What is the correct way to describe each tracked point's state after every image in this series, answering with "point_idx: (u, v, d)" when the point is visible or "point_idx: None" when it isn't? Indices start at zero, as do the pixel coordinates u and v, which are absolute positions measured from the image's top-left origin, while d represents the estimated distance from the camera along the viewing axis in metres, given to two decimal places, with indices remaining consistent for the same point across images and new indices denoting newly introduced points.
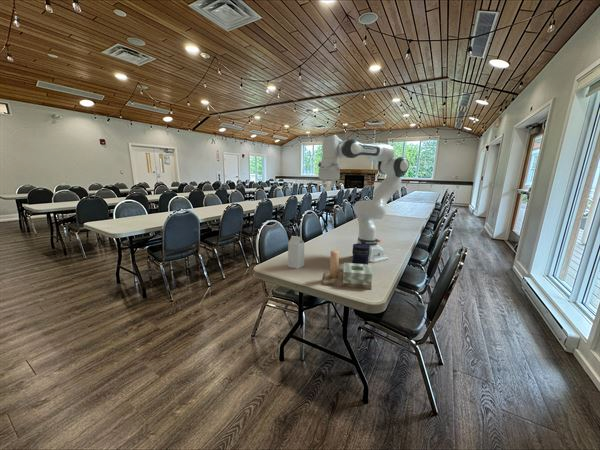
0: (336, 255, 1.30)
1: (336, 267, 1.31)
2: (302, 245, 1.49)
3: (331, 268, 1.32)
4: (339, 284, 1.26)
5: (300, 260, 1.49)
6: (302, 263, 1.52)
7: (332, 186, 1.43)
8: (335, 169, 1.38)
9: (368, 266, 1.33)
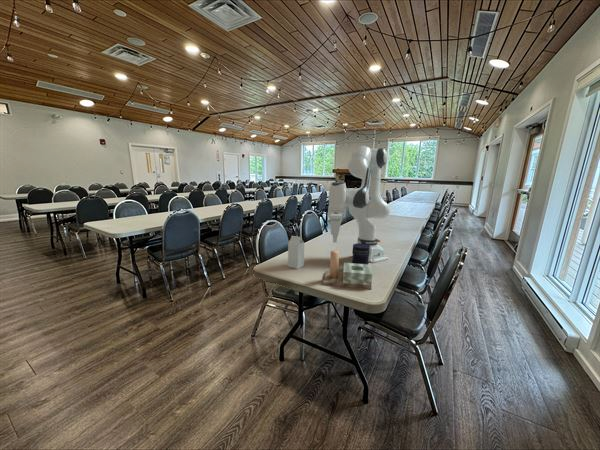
0: (336, 255, 1.30)
1: (336, 267, 1.31)
2: (302, 245, 1.49)
3: (331, 268, 1.32)
4: (339, 284, 1.26)
5: (300, 260, 1.49)
6: (302, 263, 1.52)
7: None
8: None
9: (368, 266, 1.33)
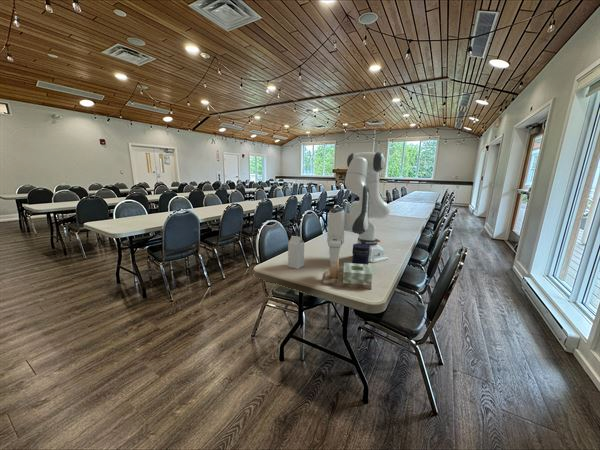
0: None
1: (336, 267, 1.31)
2: (302, 245, 1.49)
3: (331, 268, 1.32)
4: (339, 284, 1.26)
5: (300, 260, 1.49)
6: (302, 263, 1.52)
7: None
8: None
9: (368, 266, 1.33)
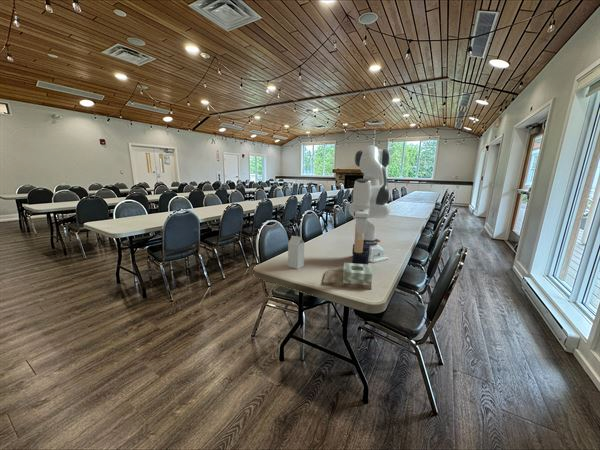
0: None
1: (361, 241, 1.26)
2: (302, 245, 1.49)
3: (356, 242, 1.26)
4: (339, 284, 1.26)
5: (300, 260, 1.49)
6: (302, 263, 1.52)
7: None
8: None
9: (368, 266, 1.33)
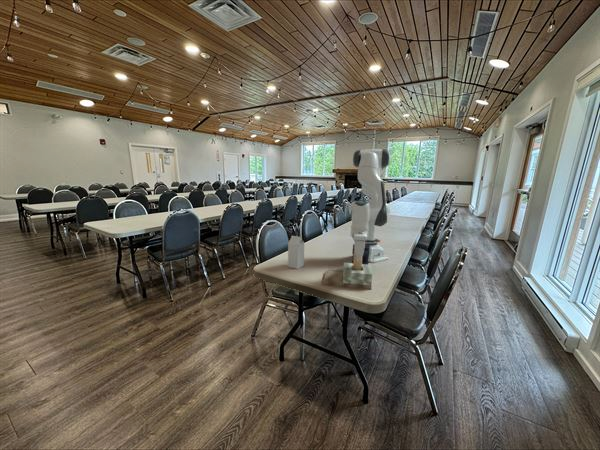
0: None
1: (360, 262, 1.28)
2: (302, 245, 1.49)
3: (355, 263, 1.29)
4: (339, 284, 1.26)
5: (300, 260, 1.49)
6: (302, 263, 1.52)
7: None
8: None
9: (368, 266, 1.33)
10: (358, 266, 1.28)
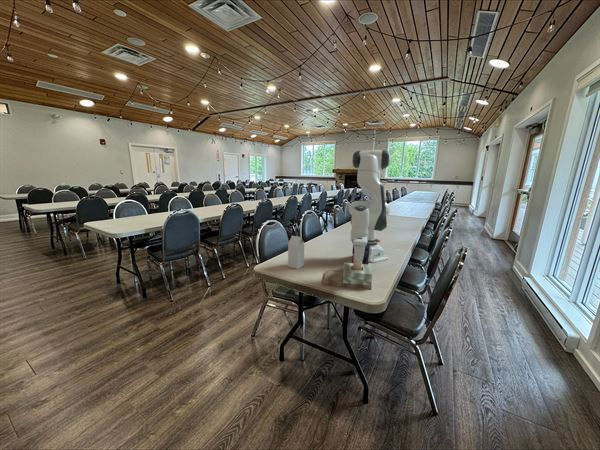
0: None
1: (359, 269, 1.29)
2: (302, 245, 1.49)
3: None
4: (339, 284, 1.26)
5: (300, 260, 1.49)
6: (302, 263, 1.52)
7: None
8: None
9: (368, 266, 1.33)
10: None
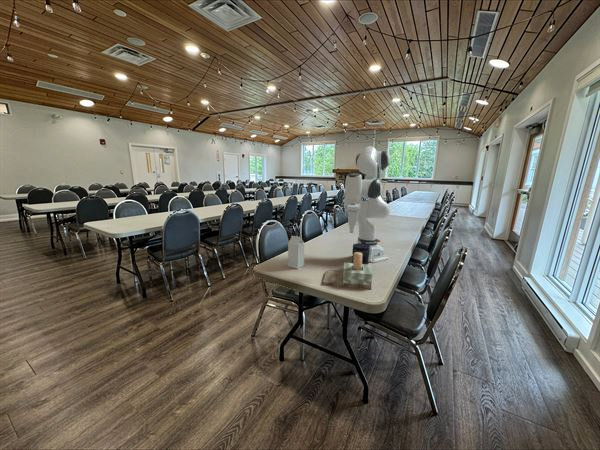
0: (360, 257, 1.27)
1: (359, 269, 1.29)
2: (302, 245, 1.49)
3: None
4: (339, 284, 1.26)
5: (300, 260, 1.49)
6: (302, 263, 1.52)
7: None
8: None
9: (368, 266, 1.33)
10: None
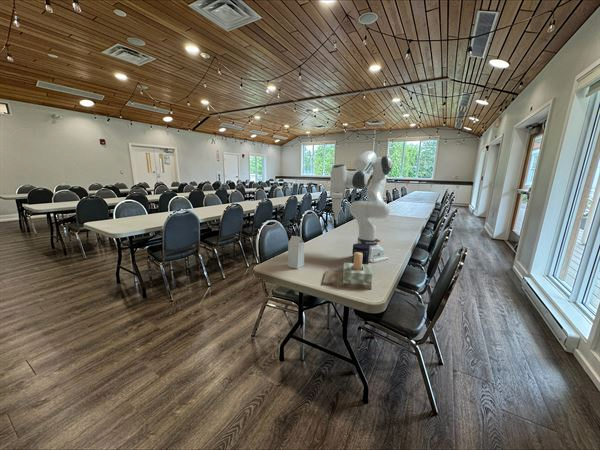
0: (360, 257, 1.27)
1: (359, 269, 1.29)
2: (302, 245, 1.49)
3: None
4: (339, 284, 1.26)
5: (300, 260, 1.49)
6: (302, 263, 1.52)
7: None
8: None
9: (368, 266, 1.33)
10: None
